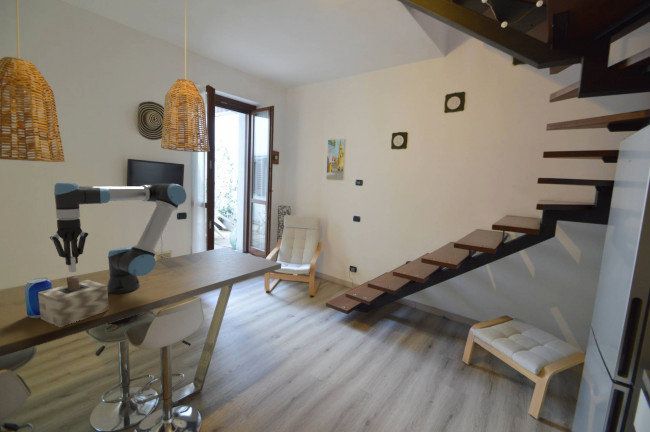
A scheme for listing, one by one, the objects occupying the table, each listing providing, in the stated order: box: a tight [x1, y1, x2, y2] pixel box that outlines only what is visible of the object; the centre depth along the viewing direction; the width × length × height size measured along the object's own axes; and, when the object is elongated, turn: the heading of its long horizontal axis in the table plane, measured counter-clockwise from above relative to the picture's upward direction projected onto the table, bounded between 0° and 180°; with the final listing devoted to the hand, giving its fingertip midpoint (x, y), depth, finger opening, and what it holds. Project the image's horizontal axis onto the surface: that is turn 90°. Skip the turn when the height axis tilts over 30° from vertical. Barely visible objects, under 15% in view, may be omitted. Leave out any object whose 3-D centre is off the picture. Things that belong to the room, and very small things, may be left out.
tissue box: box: [38, 279, 110, 328], centre depth 127 cm, size 18×16×12 cm
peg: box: [66, 275, 80, 292], centre depth 126 cm, size 4×4×11 cm
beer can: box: [23, 277, 53, 319], centre depth 125 cm, size 8×8×16 cm
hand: (72, 271), depth 125 cm, fingers closed
